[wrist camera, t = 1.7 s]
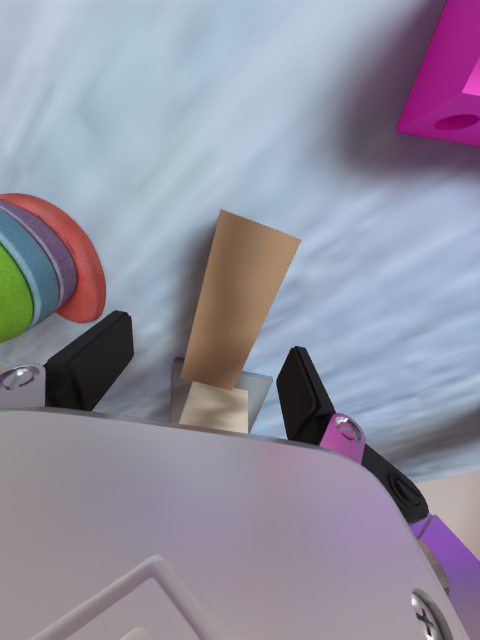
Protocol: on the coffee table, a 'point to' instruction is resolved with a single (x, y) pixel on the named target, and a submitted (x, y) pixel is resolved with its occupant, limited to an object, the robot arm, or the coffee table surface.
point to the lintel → (235, 297)
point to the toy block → (448, 80)
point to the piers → (218, 401)
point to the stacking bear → (45, 266)
